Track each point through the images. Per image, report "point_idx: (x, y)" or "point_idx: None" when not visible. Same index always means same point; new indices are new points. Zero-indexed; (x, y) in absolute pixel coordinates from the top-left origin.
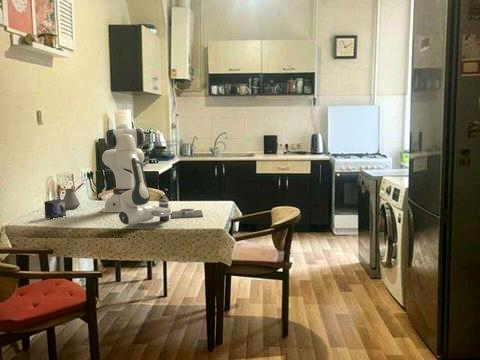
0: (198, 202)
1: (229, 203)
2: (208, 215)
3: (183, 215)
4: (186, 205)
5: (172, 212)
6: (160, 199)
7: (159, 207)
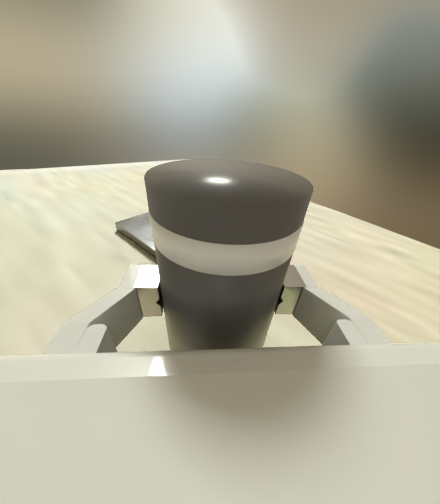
0: (122, 165)
1: None
2: None
3: None
4: (106, 177)
5: (131, 230)
6: (148, 171)
7: (356, 412)
